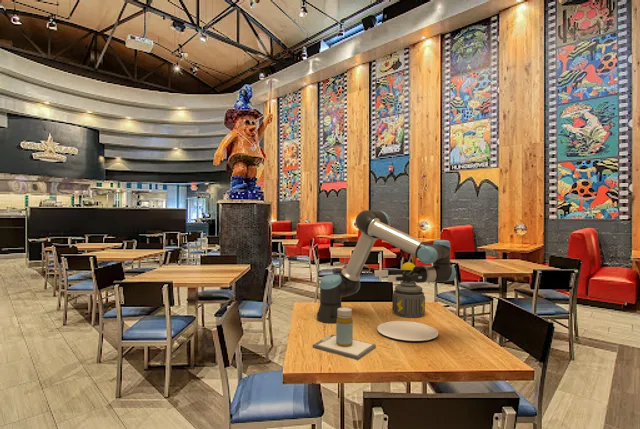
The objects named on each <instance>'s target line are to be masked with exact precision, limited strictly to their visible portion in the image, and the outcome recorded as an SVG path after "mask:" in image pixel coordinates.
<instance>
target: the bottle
mask: <svg viewBox="0 0 640 429" xmlns="http://www.w3.org/2000/svg"><path fill="white" fill-rule="evenodd" d="M337 314H338V315H337V316H338V317H337V320H336V323H335V325H336V326H335V327H336V328H335V335H336V343H337V345H339V346H342V347H348V346H351V345H352V342H353V336H354V335H353V332H354V331H353V328H354V323H353V309H352V308H350V307H342V308H338V310H337Z"/></svg>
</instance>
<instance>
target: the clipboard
mask: <svg viewBox="0 0 640 429" xmlns="http://www.w3.org/2000/svg"><path fill="white" fill-rule="evenodd" d="M312 348H313V349H316V350H320V351H323V352H326V353H331V354H335V355H339V356H342V357H346V358H350V359H353V360H357V361H359V360H360V359H361V358H363V357H364V356H366V355H367V354H369V353H371V351H373V350H374V349H375V348H376V344H374V343H369V342H366V341H362V340H357V339H353V342H352V345H351V346H348V347H342V346H339V345H337V343H336V334H331V335H327V336H325V337H323V338H321V339H320V340H319V341H317V342H315V343H313V344H312ZM376 349H377V348H376Z"/></svg>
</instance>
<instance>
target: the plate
mask: <svg viewBox="0 0 640 429" xmlns="http://www.w3.org/2000/svg"><path fill="white" fill-rule="evenodd" d="M376 330H377V332H378V333H379V334H381V335H383V336H384V337H387V338H389V339H394V340H398V341H404V342H405V341H406V342H425V341H426V342H427V341H432V340H435V339H436V338H437V337H438V336H439V331H438V330H437V329H436V328H435V327H432V326H431V325H427V324H425V323H421V322H417V321H416V322H415V321H409V320H408V321H407V320H395V321H394V320H392V321H387V322H383V323H380V324H378V326H377V327H376Z"/></svg>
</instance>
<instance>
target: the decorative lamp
mask: <svg viewBox="0 0 640 429" xmlns="http://www.w3.org/2000/svg"><path fill="white" fill-rule="evenodd" d="M416 266H417V265H415V264H414V263H413V262H408V261H407V262H405V263H403V264H402V265H401V268H400V270H411V271H412V270H413V268H414V267H416ZM391 297H392V302H391V303H392V308H391V309H392V312H393V314H394V315H395V316H397V317H400V318H401V317H402V318H409V319H417V318H421V317H422V318H423V317H424V315H425V313H426V296H425V292H424V291H423V287H421V286H420V285H418V284H417V283H416V282H415V281H413V282H407V281H406V282H404V281H401V282H400V284H398V285H395V287H394V290H393V293H392V296H391Z"/></svg>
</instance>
